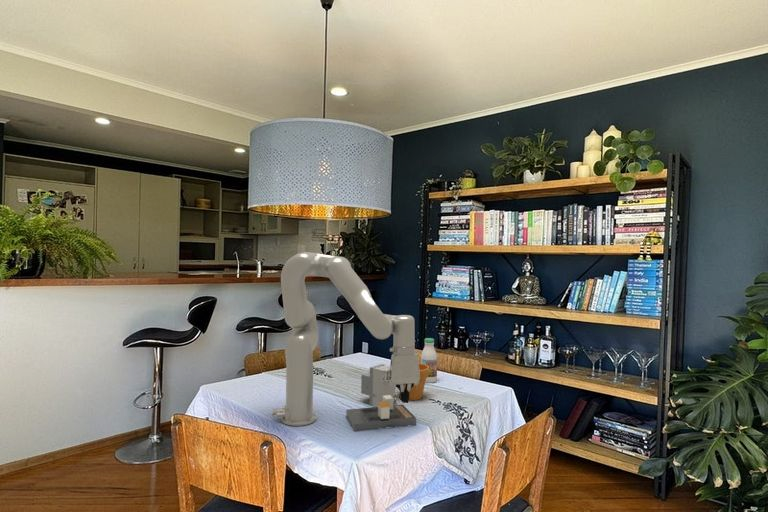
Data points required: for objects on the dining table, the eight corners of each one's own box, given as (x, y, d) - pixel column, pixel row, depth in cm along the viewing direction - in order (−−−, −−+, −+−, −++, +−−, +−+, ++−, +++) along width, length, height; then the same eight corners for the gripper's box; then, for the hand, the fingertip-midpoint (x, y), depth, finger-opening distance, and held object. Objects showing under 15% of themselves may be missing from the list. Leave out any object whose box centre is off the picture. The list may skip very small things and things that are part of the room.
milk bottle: (417, 380, 211) (417, 338, 211) (429, 377, 215) (429, 336, 215) (428, 384, 205) (428, 341, 204) (440, 381, 209) (441, 339, 209)
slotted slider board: (354, 431, 150) (354, 423, 150) (346, 416, 163) (346, 409, 163) (415, 425, 156) (416, 417, 156) (402, 411, 169) (403, 404, 169)
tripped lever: (381, 419, 153) (381, 405, 153) (377, 414, 157) (378, 402, 157) (389, 418, 154) (389, 405, 154) (386, 414, 158) (386, 401, 158)
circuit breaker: (370, 397, 185) (370, 361, 185) (397, 404, 176) (397, 367, 176) (357, 401, 180) (358, 364, 179) (385, 409, 170) (385, 371, 170)
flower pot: (423, 391, 194) (424, 361, 194) (432, 402, 180) (432, 370, 180) (391, 392, 192) (392, 362, 192) (398, 403, 178) (398, 371, 178)
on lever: (385, 410, 162) (385, 399, 162) (382, 406, 166) (382, 395, 166) (393, 409, 163) (393, 398, 163) (390, 405, 167) (390, 395, 167)
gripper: (387, 354, 152) (387, 407, 152) (427, 351, 156) (428, 403, 156) (381, 349, 159) (381, 400, 159) (420, 346, 163) (420, 396, 163)
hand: (404, 401), depth 158 cm, fingers closed
